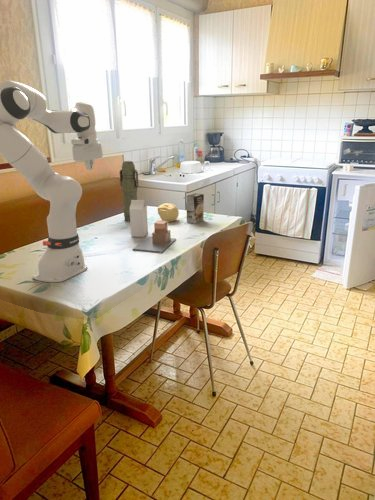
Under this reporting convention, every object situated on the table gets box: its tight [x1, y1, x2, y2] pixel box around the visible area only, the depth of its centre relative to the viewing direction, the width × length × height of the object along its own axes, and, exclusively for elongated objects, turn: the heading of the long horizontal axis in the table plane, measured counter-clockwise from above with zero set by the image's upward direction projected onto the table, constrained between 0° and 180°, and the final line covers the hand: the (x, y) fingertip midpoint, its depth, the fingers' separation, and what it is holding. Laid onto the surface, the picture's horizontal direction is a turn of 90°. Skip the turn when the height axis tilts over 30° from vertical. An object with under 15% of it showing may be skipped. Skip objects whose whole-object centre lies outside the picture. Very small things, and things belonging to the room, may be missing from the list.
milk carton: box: [129, 199, 149, 238], centre depth 198 cm, size 7×7×19 cm
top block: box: [153, 220, 169, 234], centre depth 186 cm, size 5×5×5 cm
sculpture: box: [157, 202, 180, 223], centre depth 227 cm, size 11×12×11 cm
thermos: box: [119, 160, 139, 222], centre depth 226 cm, size 9×12×35 cm
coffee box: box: [186, 193, 205, 225], centre depth 223 cm, size 9×6×16 cm
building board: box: [131, 229, 177, 254], centre depth 185 cm, size 20×15×6 cm
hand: (89, 169), depth 182 cm, fingers closed
